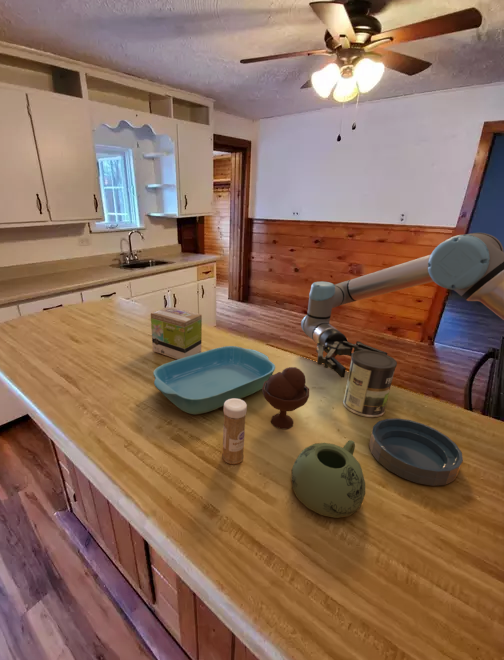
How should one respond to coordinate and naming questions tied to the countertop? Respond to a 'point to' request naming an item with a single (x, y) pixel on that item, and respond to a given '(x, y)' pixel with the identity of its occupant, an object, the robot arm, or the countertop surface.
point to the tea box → (176, 332)
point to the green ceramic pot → (329, 479)
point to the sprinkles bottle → (234, 430)
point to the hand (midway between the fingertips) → (368, 371)
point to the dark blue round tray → (415, 451)
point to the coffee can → (369, 383)
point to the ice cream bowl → (286, 394)
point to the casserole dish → (213, 378)
